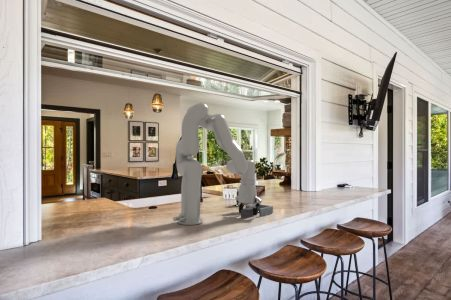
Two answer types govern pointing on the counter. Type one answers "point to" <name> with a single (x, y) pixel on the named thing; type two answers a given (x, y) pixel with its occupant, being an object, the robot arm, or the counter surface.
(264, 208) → the grey u-shaped block
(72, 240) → the counter surface
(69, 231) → the counter surface
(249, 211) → the gray rectangular prism
